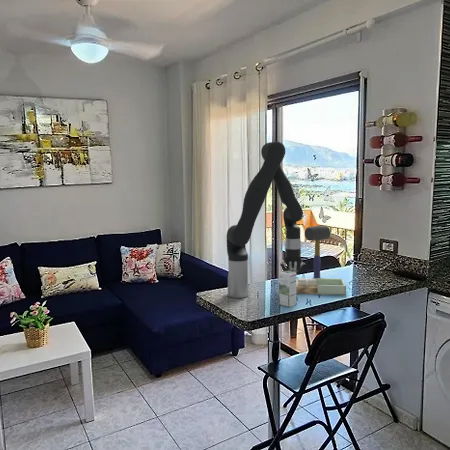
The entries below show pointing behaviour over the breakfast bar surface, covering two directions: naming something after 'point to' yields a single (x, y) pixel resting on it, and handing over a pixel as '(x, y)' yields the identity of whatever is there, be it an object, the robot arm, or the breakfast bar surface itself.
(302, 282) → the tile
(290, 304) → the syrup box
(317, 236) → the rubber mallet
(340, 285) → the tray
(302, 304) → the breakfast bar surface
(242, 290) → the robot arm
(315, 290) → the board
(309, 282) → the tile
